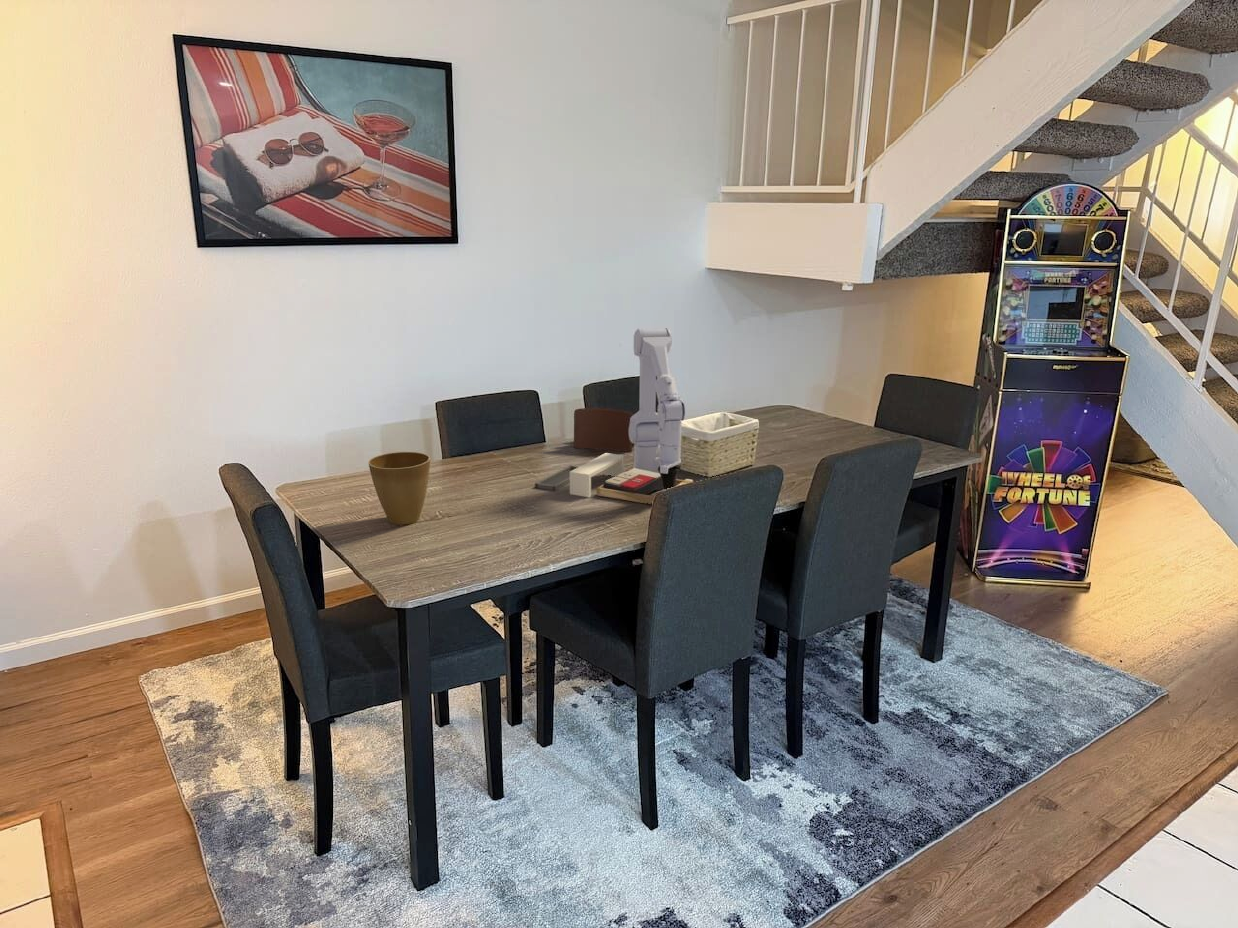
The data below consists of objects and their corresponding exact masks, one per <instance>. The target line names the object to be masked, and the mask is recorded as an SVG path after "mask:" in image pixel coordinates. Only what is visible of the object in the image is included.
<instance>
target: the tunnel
mask: <svg viewBox="0 0 1238 928" xmlns="http://www.w3.org/2000/svg"><path fill="white" fill-rule="evenodd" d="M624 465H625V455H623V454H616V453H609V452H605V453H603V454H601V455H599V456H597V457H595V458H593V459H591V460H589V461H588V462H586V463H583V464H582V465H580V466H578V465H577V466H576V465H572V464H571V465H569V466H567V467H565V468H563V469H561V470H559V471H556V472H555V473H552V474H551V475H549V476H547V477H545V478H542V480H539V481H537V482H535V483H534V488H535V489H543V490H547V491H549V490H550V491H555V492H556V491H558V490H559V489H561V488H562V487H565V486H567V485H568V484H569V494H570V495H571V496H573V495H574V496H577V497H585V498H590V497H591V496H592V477H594V476H595V475H597V474H599V473H601V472H602V471H603V476H608V475H611V476H610V477H614V476H617V475H619V474H621V473H623V472H625V466H624Z"/></svg>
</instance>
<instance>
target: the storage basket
mask: <svg viewBox="0 0 1238 928" xmlns="http://www.w3.org/2000/svg"><path fill="white" fill-rule="evenodd" d="M731 423H733V424H736V425H732V426H731ZM759 429H760V421H759V419H758V418H752V417H748V416H744V415H740V414H735V413H733V412H731V413H729V412H726V411H719V412H715V413H710V414H706V415H705V414H704V415H703V416H702V415H701V416H697V417H694V418H688V419H684V420H683V421H681V452H680V459H681V463H680V464H678V465H681V468H680V471H685V472H689V473H691V474H694V473H695V475H697V474H699V475H698V476H701V475H703V476H702V477H704V476H707V477H706V478H712V476H714V477H717V476H718V475H723V474H726V473H728V472H732V471H737V470H739V469H741V468H745V467H748V466H750V465H754V464H755V459H756V449H757V444H758V443H757V441H758V434H759ZM716 475H717V476H716Z"/></svg>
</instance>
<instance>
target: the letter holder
mask: <svg viewBox="0 0 1238 928" xmlns="http://www.w3.org/2000/svg"><path fill="white" fill-rule="evenodd" d="M633 415H634V414H633V413H632V412H631V411H627V410H621V409H616V408H615V409H614V408H606V407H587V408H586V407H585V408H577V409H575V410H574V413H573V448H574V449H581V448H586V450H596V449H598V450H599V451H609V450H610V452H611V451H613V452H625V453H626V452H627V453H632V452H634V443H632V442H631V441H630V439H629V425H630V418H631V417H632V416H633ZM598 450H597V451H598Z"/></svg>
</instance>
